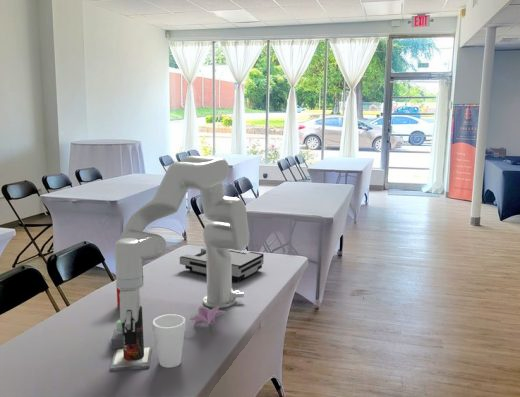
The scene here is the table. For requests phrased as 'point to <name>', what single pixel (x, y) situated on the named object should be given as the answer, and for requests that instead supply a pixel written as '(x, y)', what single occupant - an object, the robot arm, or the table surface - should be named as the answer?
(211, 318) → the lily
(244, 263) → the office tray
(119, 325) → the button
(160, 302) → the table surface
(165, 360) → the foam cup
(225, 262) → the robot arm
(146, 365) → the grey flat square block
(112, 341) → the button housing
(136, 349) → the deodorant
